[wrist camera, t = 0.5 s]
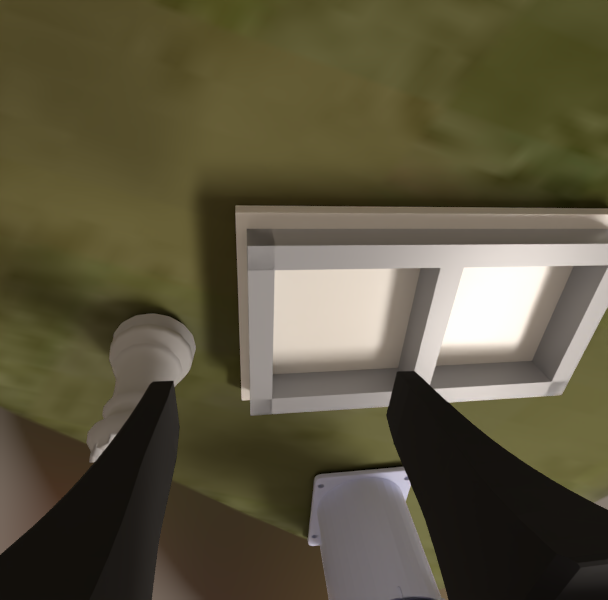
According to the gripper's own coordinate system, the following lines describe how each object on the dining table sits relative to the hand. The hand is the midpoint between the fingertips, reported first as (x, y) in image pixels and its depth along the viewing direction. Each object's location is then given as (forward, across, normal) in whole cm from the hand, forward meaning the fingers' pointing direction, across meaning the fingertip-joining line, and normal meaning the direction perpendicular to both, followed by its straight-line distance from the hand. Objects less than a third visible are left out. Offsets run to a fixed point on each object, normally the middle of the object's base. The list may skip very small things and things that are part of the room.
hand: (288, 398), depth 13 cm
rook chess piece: (+10, +6, +5) cm, 13 cm away
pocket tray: (+10, -9, +3) cm, 13 cm away
